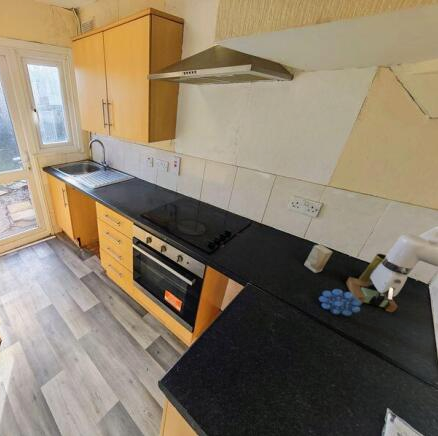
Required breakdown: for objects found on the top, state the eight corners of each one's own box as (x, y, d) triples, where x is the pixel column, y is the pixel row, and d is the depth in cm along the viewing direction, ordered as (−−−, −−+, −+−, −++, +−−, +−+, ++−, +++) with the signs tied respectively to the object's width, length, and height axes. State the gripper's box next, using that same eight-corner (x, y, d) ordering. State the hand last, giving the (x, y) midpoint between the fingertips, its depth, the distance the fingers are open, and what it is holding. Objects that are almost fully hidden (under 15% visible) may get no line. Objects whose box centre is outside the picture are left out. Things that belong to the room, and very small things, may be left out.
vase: (374, 280, 104) (392, 256, 97) (377, 288, 99) (396, 263, 92) (357, 275, 107) (373, 251, 100) (360, 283, 102) (376, 258, 95)
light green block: (377, 298, 94) (382, 292, 92) (383, 307, 90) (388, 301, 88) (357, 292, 96) (361, 287, 94) (362, 301, 92) (366, 295, 90)
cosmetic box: (303, 265, 112) (313, 245, 106) (309, 263, 113) (319, 243, 107) (315, 273, 107) (326, 253, 101) (322, 271, 108) (333, 251, 102)
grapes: (352, 315, 87) (368, 293, 81) (350, 326, 83) (367, 304, 77) (317, 298, 94) (329, 276, 88) (313, 307, 90) (326, 286, 84)
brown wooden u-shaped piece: (378, 290, 98) (383, 285, 97) (392, 312, 89) (397, 306, 87) (345, 282, 102) (349, 276, 100) (355, 302, 92) (359, 296, 91)
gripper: (423, 284, 76) (392, 319, 85) (397, 254, 90) (373, 287, 99) (395, 277, 78) (368, 312, 87) (373, 250, 92) (352, 282, 101)
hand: (371, 298), depth 93 cm, fingers closed on light green block, 4 cm apart
